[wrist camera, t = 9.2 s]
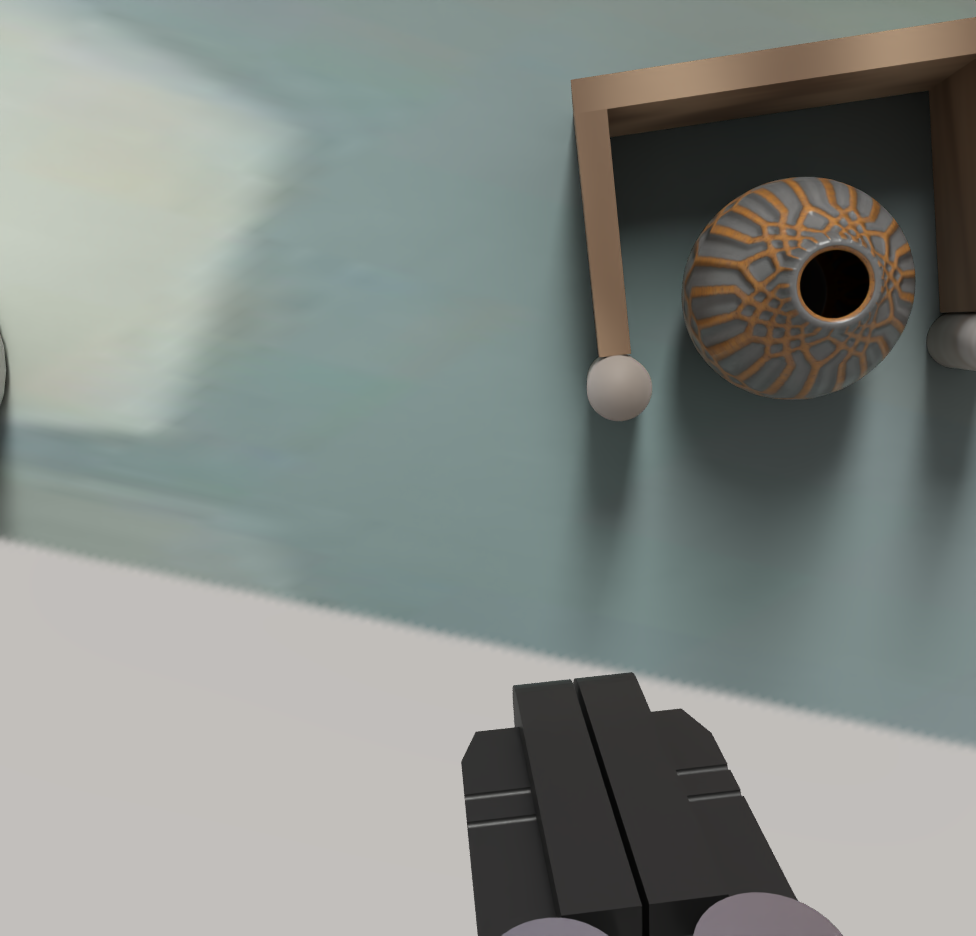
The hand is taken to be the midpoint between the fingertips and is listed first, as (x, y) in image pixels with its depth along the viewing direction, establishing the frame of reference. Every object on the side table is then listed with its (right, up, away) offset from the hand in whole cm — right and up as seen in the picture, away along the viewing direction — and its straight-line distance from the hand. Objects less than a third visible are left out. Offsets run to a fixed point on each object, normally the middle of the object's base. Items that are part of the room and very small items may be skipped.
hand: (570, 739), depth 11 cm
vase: (+9, +10, +22) cm, 25 cm away
